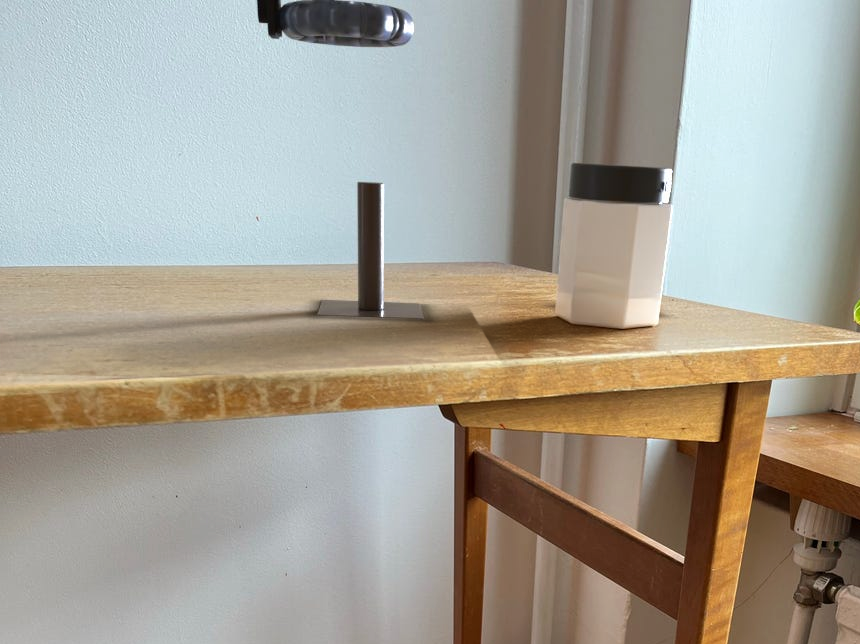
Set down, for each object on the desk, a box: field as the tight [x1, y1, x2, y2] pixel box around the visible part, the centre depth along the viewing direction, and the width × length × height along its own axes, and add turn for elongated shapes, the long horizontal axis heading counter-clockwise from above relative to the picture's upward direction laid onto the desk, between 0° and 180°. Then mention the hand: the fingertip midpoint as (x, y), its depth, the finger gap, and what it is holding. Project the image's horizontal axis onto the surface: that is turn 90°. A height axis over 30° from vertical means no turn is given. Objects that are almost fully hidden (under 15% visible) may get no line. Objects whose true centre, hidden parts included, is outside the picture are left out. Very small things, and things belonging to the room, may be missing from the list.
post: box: [316, 181, 425, 320], centre depth 75 cm, size 8×8×10 cm
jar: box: [554, 162, 673, 330], centre depth 81 cm, size 9×8×12 cm
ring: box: [278, 0, 415, 48], centre depth 67 cm, size 9×9×2 cm
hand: (297, 35), depth 67 cm, fingers closed on ring, 2 cm apart
